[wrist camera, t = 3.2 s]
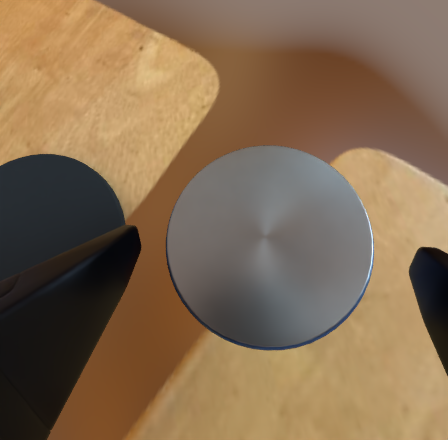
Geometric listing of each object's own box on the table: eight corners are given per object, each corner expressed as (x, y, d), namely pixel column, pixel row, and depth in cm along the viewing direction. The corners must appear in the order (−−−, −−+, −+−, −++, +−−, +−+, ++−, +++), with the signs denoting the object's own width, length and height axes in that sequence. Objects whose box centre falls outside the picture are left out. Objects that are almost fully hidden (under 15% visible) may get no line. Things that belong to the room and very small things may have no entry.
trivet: (18, 414, 16) (9, 419, 15) (-96, 267, 19) (-107, 267, 19) (169, 231, 18) (165, 229, 17) (39, 125, 21) (33, 120, 20)
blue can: (272, 338, 15) (291, 409, 6) (193, 272, 17) (121, 255, 8) (332, 254, 16) (424, 215, 7) (252, 198, 17) (245, 107, 9)
